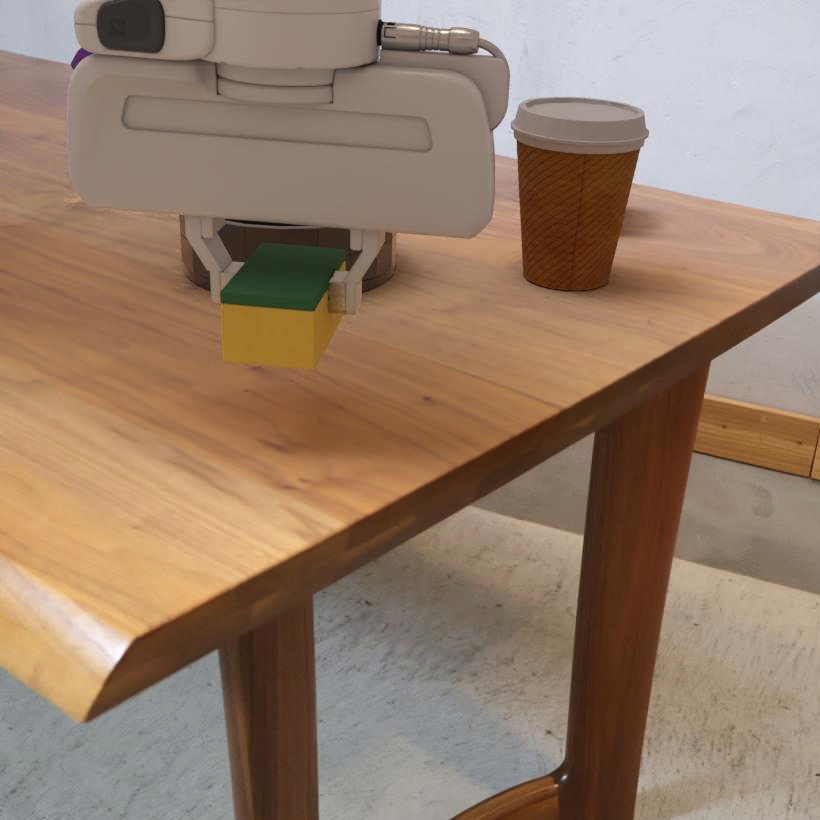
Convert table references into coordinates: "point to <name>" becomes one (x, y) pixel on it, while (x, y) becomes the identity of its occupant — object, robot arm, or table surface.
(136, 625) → the table surface
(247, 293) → the sponge
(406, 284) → the table surface
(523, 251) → the disposable coffee cup
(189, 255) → the bowl
